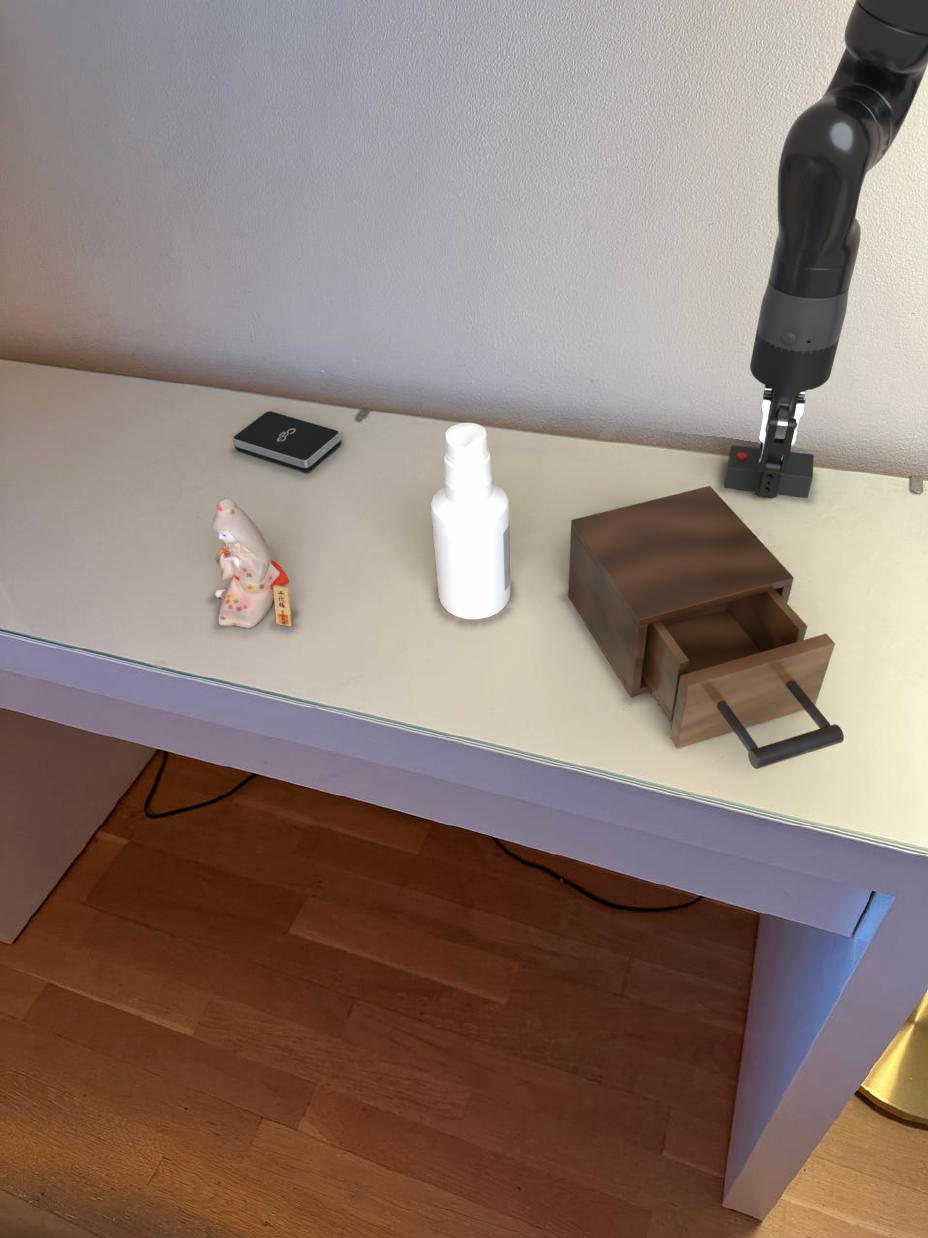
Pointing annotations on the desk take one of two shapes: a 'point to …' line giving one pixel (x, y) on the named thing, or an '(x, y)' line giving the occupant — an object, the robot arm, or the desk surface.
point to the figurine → (248, 571)
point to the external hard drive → (287, 441)
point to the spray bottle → (471, 529)
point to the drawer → (739, 674)
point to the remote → (746, 471)
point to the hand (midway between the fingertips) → (767, 473)
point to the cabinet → (662, 570)
